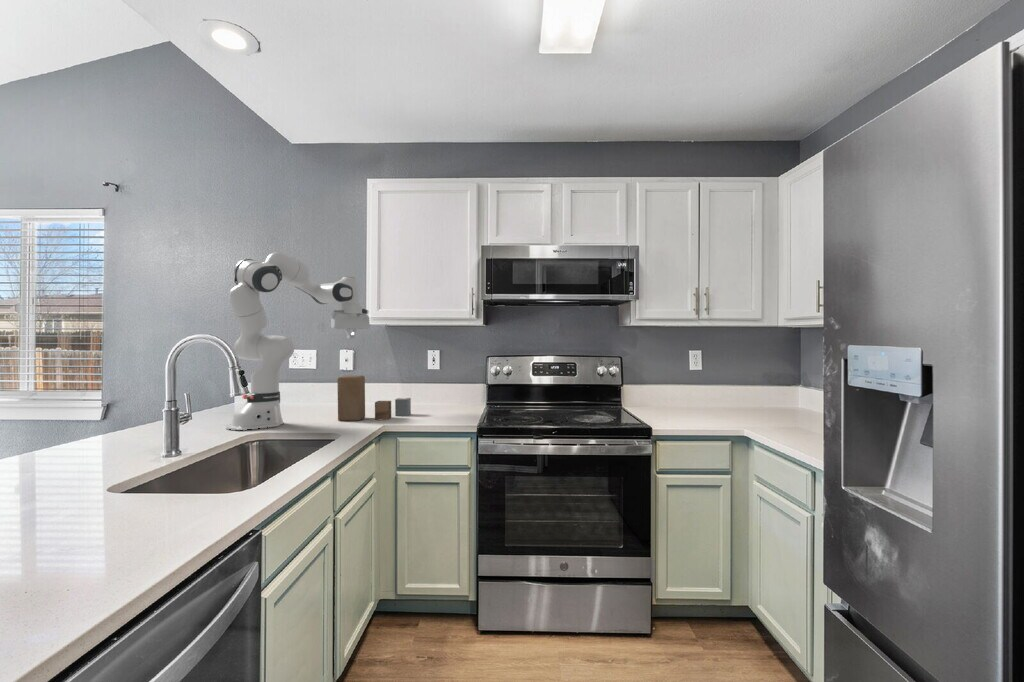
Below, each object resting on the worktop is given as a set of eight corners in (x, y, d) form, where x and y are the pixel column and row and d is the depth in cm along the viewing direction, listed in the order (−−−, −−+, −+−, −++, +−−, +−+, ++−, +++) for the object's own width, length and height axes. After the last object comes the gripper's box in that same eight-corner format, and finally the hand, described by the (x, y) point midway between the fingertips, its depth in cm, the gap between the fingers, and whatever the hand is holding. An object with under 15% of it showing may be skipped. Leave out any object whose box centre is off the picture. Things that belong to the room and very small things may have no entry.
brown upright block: (387, 419, 237) (387, 401, 237) (374, 419, 237) (374, 401, 237) (391, 417, 243) (391, 400, 243) (378, 417, 243) (378, 400, 243)
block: (359, 421, 233) (358, 377, 233) (337, 421, 233) (336, 377, 233) (365, 417, 243) (365, 375, 243) (344, 417, 243) (344, 375, 243)
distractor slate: (407, 416, 246) (407, 399, 246) (395, 416, 247) (395, 399, 247) (410, 414, 252) (410, 397, 252) (398, 414, 253) (398, 397, 253)
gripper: (335, 309, 243) (336, 338, 244) (371, 310, 260) (371, 338, 260) (327, 310, 247) (328, 338, 247) (363, 311, 264) (363, 338, 264)
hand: (350, 338), depth 254 cm, fingers closed
